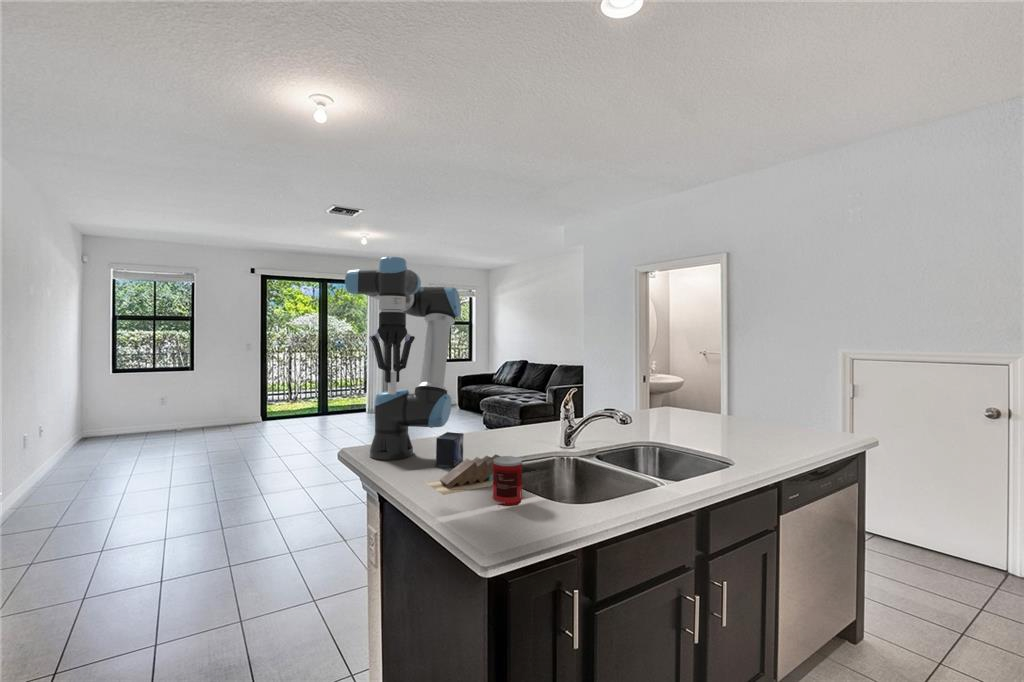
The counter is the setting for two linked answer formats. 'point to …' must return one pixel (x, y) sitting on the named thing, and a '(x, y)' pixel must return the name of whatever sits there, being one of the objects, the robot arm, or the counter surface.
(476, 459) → the domino
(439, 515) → the counter surface
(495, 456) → the domino
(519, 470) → the canned food
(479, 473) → the domino
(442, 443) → the small box
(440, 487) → the board
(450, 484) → the domino
